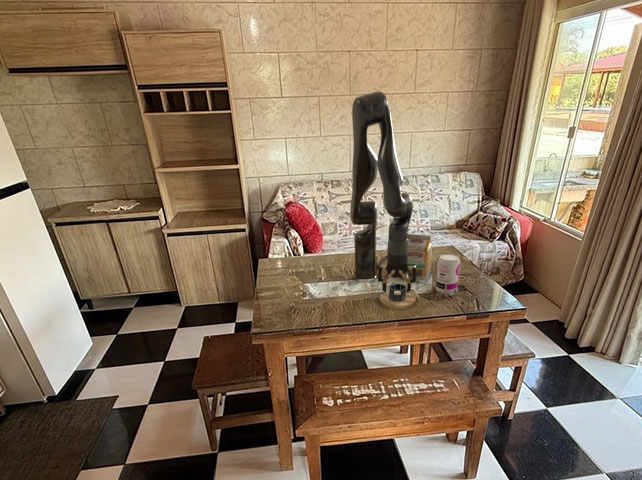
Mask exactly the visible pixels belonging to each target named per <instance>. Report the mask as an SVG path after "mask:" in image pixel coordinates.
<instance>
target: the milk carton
mask: <svg viewBox="0 0 642 480" xmlns="http://www.w3.org/2000/svg"><path fill="white" fill-rule="evenodd" d="M432 253H433V241H432V235H427V234H416V233H415V234H413V233H408V267H411V266H413V265H415V266H416V280H423V281H426V280H428V279H429V277H430V275H431V269H432V255H433V254H432ZM407 275H408V276H409V278H410V279H412V278H413V273H412V272H410V270H408V271H407ZM400 279H404V278H403V277H401V278H400Z"/></svg>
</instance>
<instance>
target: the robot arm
mask: <svg viewBox="0 0 642 480" xmlns="http://www.w3.org/2000/svg"><path fill="white" fill-rule="evenodd" d="M351 106H352V107H351V121H352V137H353V142H352V144H353V145H352V147H353V148H352V150H353V151H352V166H351V168H352V170H351V176H352V177H351V178H352V179H351V181H352V183H351V185H352V186H351V187H352V188H351V201H350V210H349V216H350V217H349V218H350V222H351V224H353V225H354V226H355V225H356V226H365V228H363V229H360V230H358V231H356V233H354V236H353V237H354V239H353V240H354V241H353V243H354V244H353V245H354V278H357V279H361V280H370V279H377V282H379V283H382V291H383V292H384V293H386V292H387V282H388V280H390V279H391V278H392V279H397V278H398V279H404V281H405V282H406V292H407V293H410V292H411V290H412V284H413V283H414V284H415V283H416V282H417V279H416V266H415V265H413V266H411V267H408V234H409V227H410V223H411V219H412V216H413V208H414V203H413V199H412V197H411V195H410V194H409V193H406V192H402V191H401V186H402V185H403V183H404V179H403V178H404V177H403V175H402V170H401V168H400V163H399V160H398V155H397V152H396V146H395V138H394V128H393V122H392V115H391V109H390V103H389V100H388V98H387V96H386V95H385V93H384V92H383V91H380V90H379V91H378V90H377V91H373V92H369V93H366V94H363V95H359V96H357V97H355V98H354V100H353V102H352V105H351ZM375 125H378V127H379V132H380V143H379V144H380V145H379V149H378V154H377V153H376V152H375V150H374V148H373V147H372V145H371V144H370V142H369V140H368V128H370V127H372V126H375ZM378 175H379V177H380V180H381V184H382V186H383V187H382V192H383V193H382V194H383V203H384V204H383V205H384V209H385V210H386V212H387V214H388V215H389V216H390V217H392V221H391V222H390V223H389V225H388V240H387V248H386V250H387V251H386V253H387V254H386V256H384V257H383V258H382V259H381V260H380V262H379V264H378V256H377V224H378V223H377V222H378V206H377V203H376V201H374V200H364V201H363V200H362V199H363V197H364V195H365V194H366V192H367V191H368V190H369V189H370V188H371V187H372V185H373V184H374V183H375V181H376V179H377V177H378ZM386 259H387V260H386ZM385 260H386V265H383V264H382V263H383V262H384V261H385ZM408 270H410V272H412V273H413V278H412V279H410V278H409V276H408V275H407V271H408ZM384 271H386V272H387V273H386V274H385V276H384V277H382V276H383V275H382V274H383V273H384ZM401 277H403V278H401Z"/></svg>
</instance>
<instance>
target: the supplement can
mask: <svg viewBox="0 0 642 480" xmlns="http://www.w3.org/2000/svg"><path fill="white" fill-rule="evenodd" d="M460 264H461V260H460V256H458V255H456V254H451V253H446V254H441V255H440V256H439V259H438V260H437V269H436V270H437V271H436V281H435V290H436V291H437V292H438V293H439V294H445V295H446V294H448V296H449V297H452V296H454V295H456V294H457V291H458V283H459V275H460Z"/></svg>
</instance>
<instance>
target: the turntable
mask: <svg viewBox="0 0 642 480" xmlns="http://www.w3.org/2000/svg"><path fill="white" fill-rule="evenodd" d="M378 299H379V302H380V303H382V304H384V305H385V306H390V307H406V306H410V305H412V304H414V303H415V302H416V296H415V295H414V294H413V293H410V292H409V293H407V291H406V299H405V300H404V301H401V302H394V301H391V300H390V299H389V291H386V292H384V293H382V294H380V295H379V298H378Z"/></svg>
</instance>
